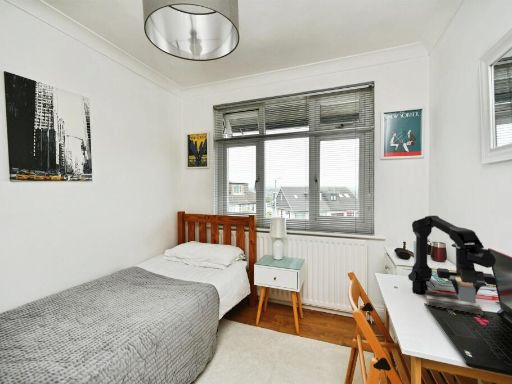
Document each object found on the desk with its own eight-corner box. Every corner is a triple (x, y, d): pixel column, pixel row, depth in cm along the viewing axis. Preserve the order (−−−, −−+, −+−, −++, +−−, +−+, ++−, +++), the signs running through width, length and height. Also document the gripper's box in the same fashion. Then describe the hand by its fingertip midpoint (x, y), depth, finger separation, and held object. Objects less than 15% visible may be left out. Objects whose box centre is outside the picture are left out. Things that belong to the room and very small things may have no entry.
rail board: (427, 306, 114) (427, 300, 114) (424, 295, 125) (424, 289, 125) (483, 316, 104) (483, 309, 104) (474, 303, 115) (474, 297, 115)
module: (459, 300, 99) (459, 286, 99) (456, 293, 105) (455, 280, 105) (475, 303, 97) (475, 288, 96) (471, 296, 103) (470, 282, 102)
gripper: (440, 262, 98) (441, 299, 99) (502, 268, 89) (503, 309, 89) (436, 255, 108) (436, 289, 108) (492, 260, 98) (492, 297, 99)
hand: (465, 295), depth 101 cm, fingers closed on module, 5 cm apart
